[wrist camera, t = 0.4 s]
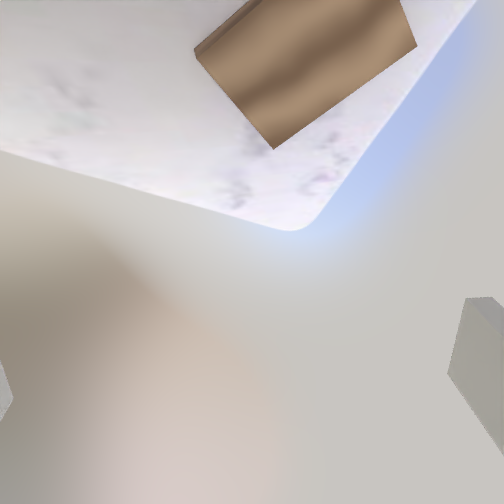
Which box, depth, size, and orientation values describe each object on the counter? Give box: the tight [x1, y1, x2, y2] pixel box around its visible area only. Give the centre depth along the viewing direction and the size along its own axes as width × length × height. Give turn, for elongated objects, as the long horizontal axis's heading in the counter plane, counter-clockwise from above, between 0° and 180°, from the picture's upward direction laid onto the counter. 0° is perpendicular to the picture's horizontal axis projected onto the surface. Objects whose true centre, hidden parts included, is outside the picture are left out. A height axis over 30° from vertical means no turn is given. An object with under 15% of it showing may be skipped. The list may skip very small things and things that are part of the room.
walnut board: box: [194, 0, 417, 150], centre depth 38 cm, size 12×16×2 cm
